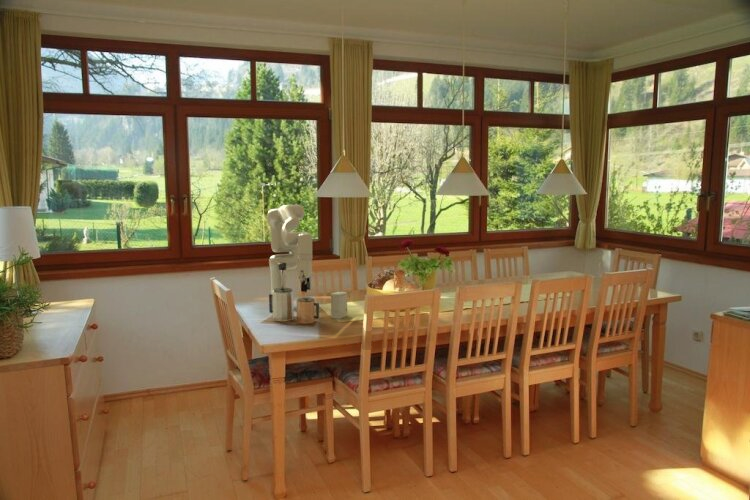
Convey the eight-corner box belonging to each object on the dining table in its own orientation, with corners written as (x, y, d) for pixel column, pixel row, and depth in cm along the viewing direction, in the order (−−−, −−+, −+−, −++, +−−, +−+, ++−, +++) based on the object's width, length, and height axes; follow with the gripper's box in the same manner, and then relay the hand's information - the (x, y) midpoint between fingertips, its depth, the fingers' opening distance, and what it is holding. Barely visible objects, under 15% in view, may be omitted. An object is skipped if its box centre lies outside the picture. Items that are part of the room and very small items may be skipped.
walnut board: (273, 316, 322) (273, 314, 322) (324, 320, 315) (324, 318, 315) (260, 325, 305) (260, 322, 304) (313, 328, 298) (313, 326, 298)
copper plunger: (302, 307, 310) (302, 280, 308) (313, 308, 308) (313, 281, 306) (298, 310, 304) (297, 282, 302) (309, 311, 302) (309, 283, 300)
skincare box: (339, 321, 313) (339, 294, 311) (330, 319, 316) (330, 293, 314) (347, 317, 321) (347, 291, 319) (338, 316, 324) (338, 290, 321)
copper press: (300, 319, 313) (300, 296, 311) (321, 320, 310) (321, 297, 308) (294, 323, 303) (294, 300, 302) (315, 325, 301) (315, 301, 299)
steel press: (274, 315, 319) (273, 286, 317) (296, 317, 316) (295, 288, 314) (265, 320, 308) (265, 290, 306) (288, 322, 305) (288, 292, 303)
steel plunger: (279, 294, 315) (278, 261, 312) (292, 295, 313) (291, 262, 310) (273, 297, 307) (272, 263, 305) (286, 298, 306) (286, 264, 303)
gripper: (304, 254, 311) (304, 287, 314) (292, 258, 295) (293, 293, 297) (317, 254, 309) (317, 287, 312) (306, 259, 293) (307, 294, 296)
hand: (305, 290), depth 305 cm, fingers closed on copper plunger, 4 cm apart
